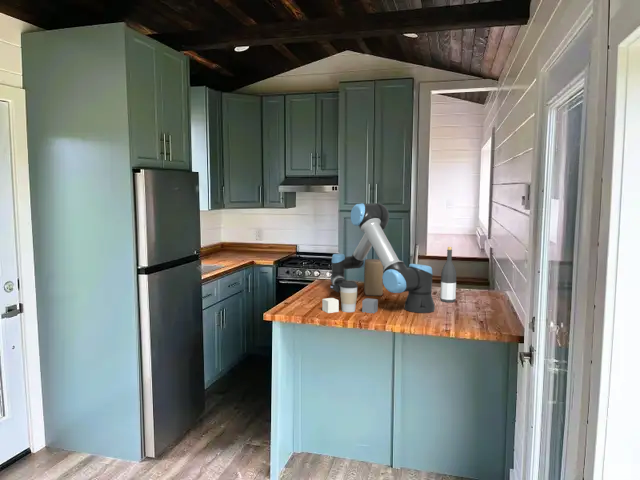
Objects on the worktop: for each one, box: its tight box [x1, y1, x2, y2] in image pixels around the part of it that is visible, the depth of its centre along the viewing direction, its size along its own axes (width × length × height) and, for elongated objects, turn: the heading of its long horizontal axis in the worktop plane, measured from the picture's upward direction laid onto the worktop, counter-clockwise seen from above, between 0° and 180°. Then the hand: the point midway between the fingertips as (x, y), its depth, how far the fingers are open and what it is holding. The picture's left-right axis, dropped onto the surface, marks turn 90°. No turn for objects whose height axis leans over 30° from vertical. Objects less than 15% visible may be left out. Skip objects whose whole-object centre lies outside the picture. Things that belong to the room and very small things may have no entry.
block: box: [363, 258, 384, 297], centre depth 279 cm, size 10×10×20 cm
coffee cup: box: [339, 280, 359, 313], centre depth 241 cm, size 9×9×15 cm
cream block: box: [321, 297, 340, 314], centre depth 241 cm, size 6×6×6 cm
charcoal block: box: [361, 297, 379, 314], centre depth 240 cm, size 6×6×6 cm
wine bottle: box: [439, 246, 457, 304], centre depth 263 cm, size 8×8×30 cm
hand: (346, 293), depth 250 cm, fingers closed
